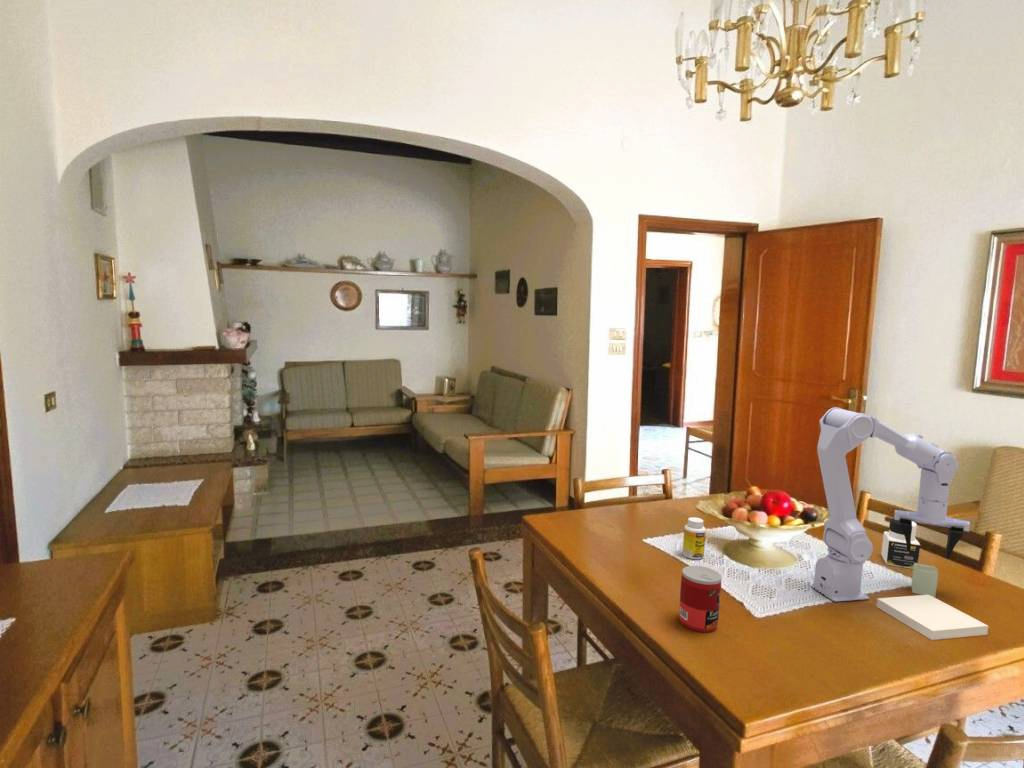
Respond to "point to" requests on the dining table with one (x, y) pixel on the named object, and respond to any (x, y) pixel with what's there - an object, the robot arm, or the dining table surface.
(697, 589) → the canned food
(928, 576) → the sage block
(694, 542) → the supplement bottle
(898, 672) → the dining table surface
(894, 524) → the medicine bottle
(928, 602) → the cream slab
